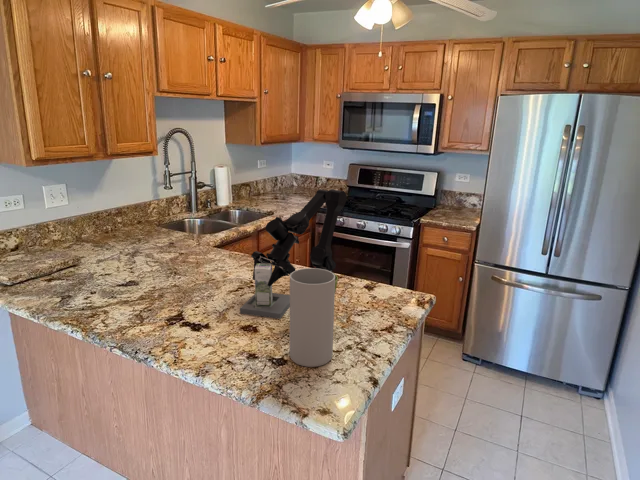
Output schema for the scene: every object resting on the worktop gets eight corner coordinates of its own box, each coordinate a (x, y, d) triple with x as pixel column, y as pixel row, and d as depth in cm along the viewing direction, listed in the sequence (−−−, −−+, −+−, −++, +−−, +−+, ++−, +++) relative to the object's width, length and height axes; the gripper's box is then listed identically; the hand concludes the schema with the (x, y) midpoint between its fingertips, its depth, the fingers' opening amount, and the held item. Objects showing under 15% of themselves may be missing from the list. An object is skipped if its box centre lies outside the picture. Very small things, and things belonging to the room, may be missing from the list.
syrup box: (272, 299, 159) (272, 262, 155) (271, 306, 154) (270, 268, 149) (257, 299, 159) (256, 262, 155) (255, 306, 154) (254, 268, 149)
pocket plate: (294, 300, 161) (294, 295, 161) (280, 319, 146) (280, 313, 146) (257, 295, 165) (257, 290, 164) (240, 313, 150) (239, 308, 149)
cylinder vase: (282, 362, 121) (282, 280, 114) (299, 341, 132) (300, 265, 125) (323, 372, 117) (326, 287, 110) (338, 350, 128) (341, 271, 121)
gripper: (311, 263, 158) (290, 300, 153) (277, 252, 169) (256, 285, 165) (296, 248, 150) (274, 286, 145) (261, 237, 161) (239, 272, 157)
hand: (260, 282), depth 153 cm, fingers closed on syrup box, 8 cm apart
